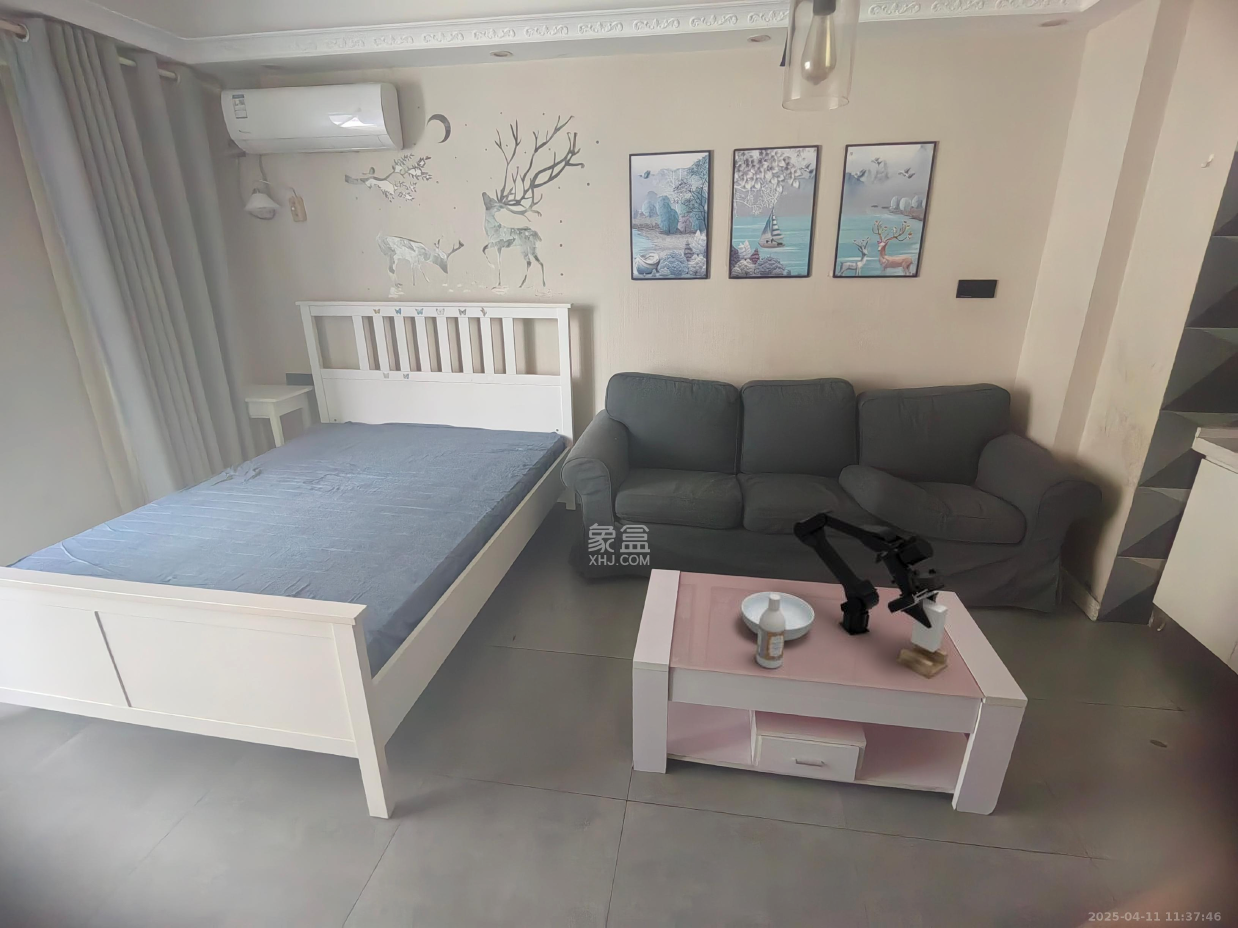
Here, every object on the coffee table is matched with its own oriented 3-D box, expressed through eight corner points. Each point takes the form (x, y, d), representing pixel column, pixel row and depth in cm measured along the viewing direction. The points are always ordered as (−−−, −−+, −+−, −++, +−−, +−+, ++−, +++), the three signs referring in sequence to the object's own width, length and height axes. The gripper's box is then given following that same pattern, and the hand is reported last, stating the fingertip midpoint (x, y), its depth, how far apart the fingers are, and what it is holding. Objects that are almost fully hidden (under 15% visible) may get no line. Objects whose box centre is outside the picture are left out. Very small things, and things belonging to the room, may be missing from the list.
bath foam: (763, 670, 163) (768, 604, 157) (751, 655, 170) (756, 591, 164) (786, 667, 165) (793, 601, 159) (774, 652, 171) (780, 588, 165)
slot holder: (897, 661, 167) (899, 649, 166) (915, 649, 172) (917, 638, 171) (929, 678, 160) (931, 666, 159) (947, 665, 165) (949, 653, 164)
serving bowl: (740, 607, 194) (741, 588, 192) (809, 614, 190) (811, 595, 188) (739, 645, 175) (740, 624, 173) (815, 654, 171) (817, 632, 169)
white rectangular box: (910, 641, 166) (917, 602, 162) (918, 636, 168) (925, 598, 164) (932, 652, 161) (940, 612, 157) (940, 647, 163) (947, 607, 160)
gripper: (905, 570, 155) (940, 628, 150) (943, 551, 166) (978, 604, 160) (873, 585, 164) (905, 640, 159) (911, 566, 174) (943, 617, 169)
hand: (934, 625), depth 161 cm, fingers closed on white rectangular box, 4 cm apart
